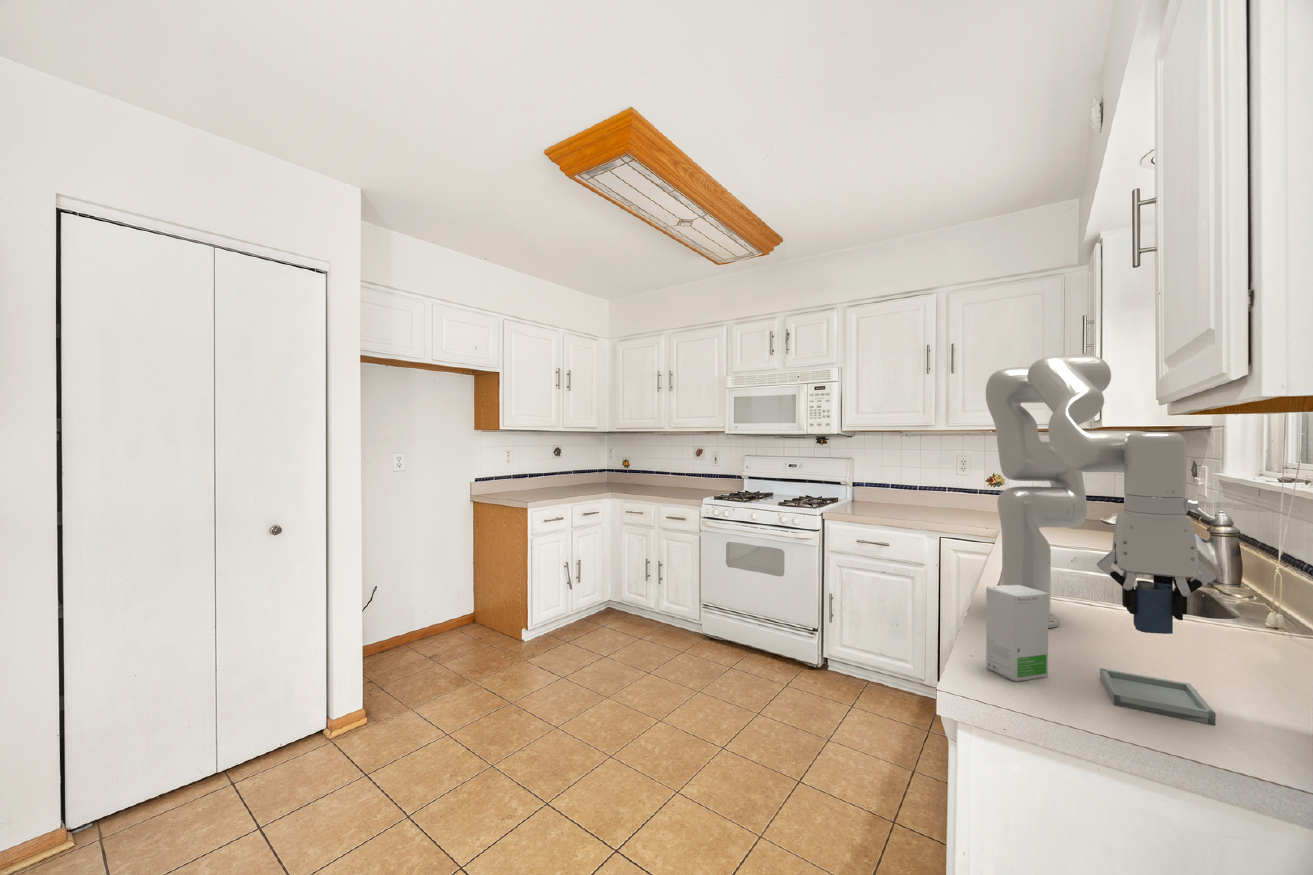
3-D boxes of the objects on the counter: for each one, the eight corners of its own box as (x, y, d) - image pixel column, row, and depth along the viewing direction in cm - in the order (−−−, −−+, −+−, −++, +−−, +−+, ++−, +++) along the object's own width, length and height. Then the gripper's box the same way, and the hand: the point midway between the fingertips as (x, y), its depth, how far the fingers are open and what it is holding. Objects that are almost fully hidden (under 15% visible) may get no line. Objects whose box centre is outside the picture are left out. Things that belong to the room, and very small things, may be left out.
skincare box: (1014, 682, 96) (1014, 596, 96) (982, 667, 102) (983, 585, 102) (1050, 676, 98) (1050, 592, 98) (1017, 661, 104) (1017, 582, 104)
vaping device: (1177, 634, 88) (1177, 561, 88) (1140, 632, 89) (1140, 560, 89) (1166, 629, 90) (1166, 558, 90) (1129, 627, 91) (1130, 557, 91)
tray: (1100, 677, 97) (1100, 668, 97) (1190, 694, 91) (1190, 683, 91) (1113, 704, 88) (1114, 694, 88) (1215, 724, 82) (1215, 713, 82)
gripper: (1216, 506, 88) (1215, 616, 88) (1085, 500, 97) (1084, 600, 97) (1235, 512, 82) (1235, 631, 82) (1093, 505, 90) (1093, 612, 90)
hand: (1153, 613), depth 89 cm, fingers closed on vaping device, 5 cm apart
